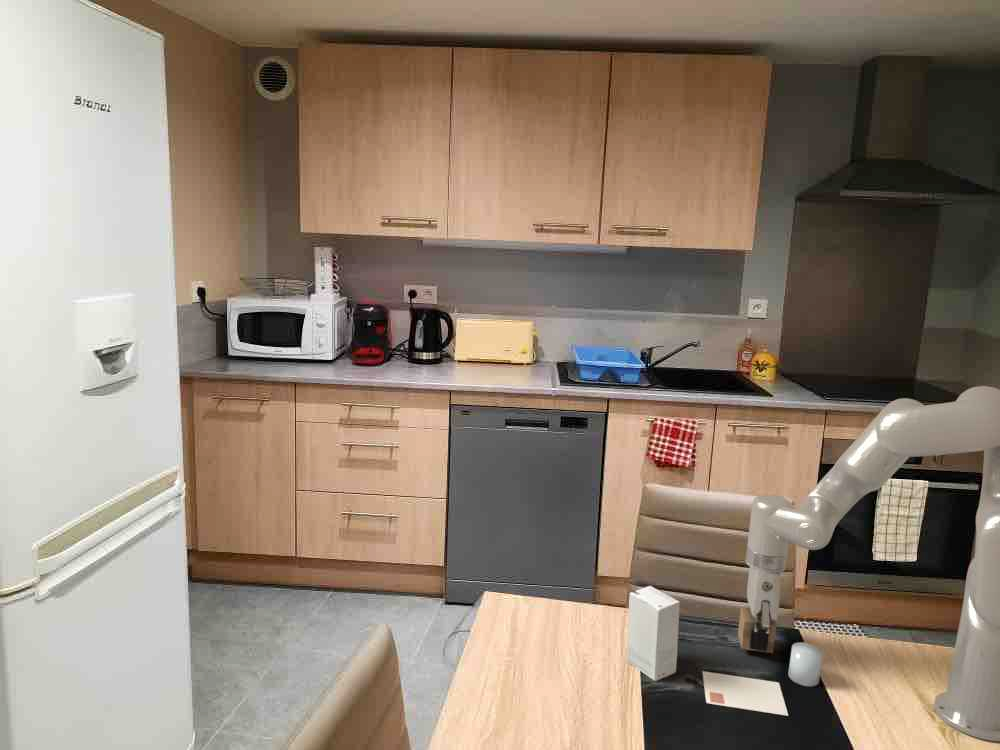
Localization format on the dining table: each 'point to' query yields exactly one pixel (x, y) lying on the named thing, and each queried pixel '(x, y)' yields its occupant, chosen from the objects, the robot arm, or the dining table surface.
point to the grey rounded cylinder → (805, 664)
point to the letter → (744, 693)
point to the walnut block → (748, 624)
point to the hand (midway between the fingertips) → (755, 639)
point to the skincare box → (653, 632)
